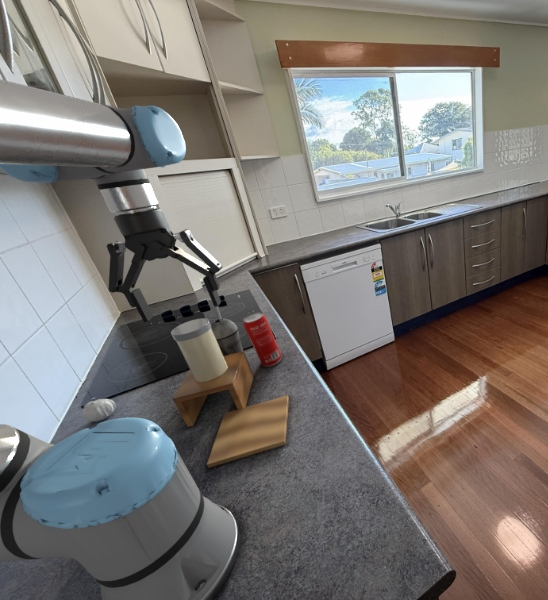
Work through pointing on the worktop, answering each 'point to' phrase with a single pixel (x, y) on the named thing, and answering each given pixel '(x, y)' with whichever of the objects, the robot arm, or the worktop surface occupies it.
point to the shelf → (215, 387)
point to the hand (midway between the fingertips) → (184, 311)
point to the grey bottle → (226, 335)
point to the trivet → (250, 431)
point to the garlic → (98, 409)
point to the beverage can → (262, 339)
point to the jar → (200, 349)
